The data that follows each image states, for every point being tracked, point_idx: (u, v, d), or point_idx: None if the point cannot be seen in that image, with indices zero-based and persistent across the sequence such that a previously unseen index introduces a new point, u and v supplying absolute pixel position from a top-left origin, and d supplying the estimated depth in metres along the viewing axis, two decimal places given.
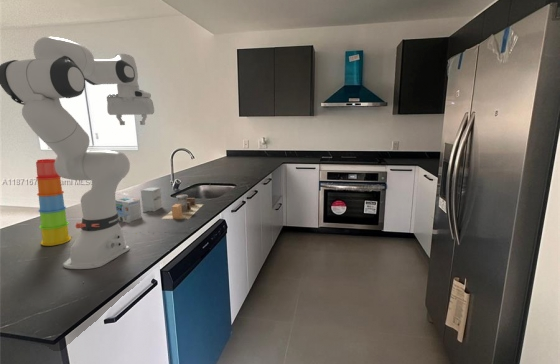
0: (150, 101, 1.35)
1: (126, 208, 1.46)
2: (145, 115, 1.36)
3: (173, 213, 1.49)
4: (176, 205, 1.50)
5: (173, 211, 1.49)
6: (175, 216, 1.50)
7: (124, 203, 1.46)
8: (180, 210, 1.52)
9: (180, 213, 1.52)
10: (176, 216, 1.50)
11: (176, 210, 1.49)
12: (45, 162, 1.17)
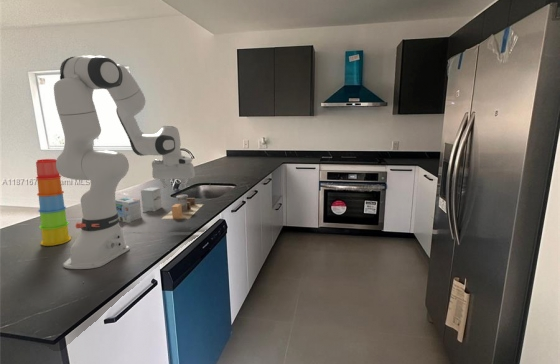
0: (192, 166, 1.46)
1: (126, 208, 1.46)
2: (187, 178, 1.48)
3: (173, 213, 1.49)
4: (176, 205, 1.50)
5: (173, 211, 1.49)
6: (175, 216, 1.50)
7: (124, 203, 1.46)
8: (180, 210, 1.52)
9: (180, 213, 1.52)
10: (176, 216, 1.50)
11: (176, 210, 1.49)
12: (45, 162, 1.17)
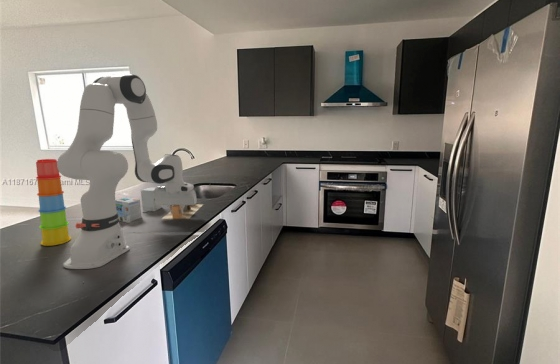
0: (194, 193, 1.49)
1: (126, 208, 1.46)
2: (184, 205, 1.51)
3: (173, 213, 1.49)
4: (176, 205, 1.50)
5: (173, 211, 1.49)
6: (175, 216, 1.50)
7: (124, 203, 1.46)
8: None
9: (180, 213, 1.52)
10: (176, 216, 1.50)
11: (176, 210, 1.49)
12: (45, 162, 1.17)
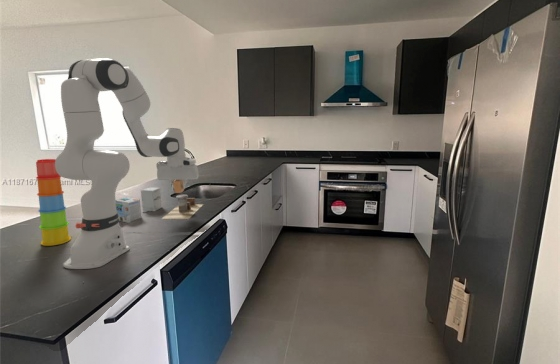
0: (196, 168, 1.49)
1: (126, 208, 1.46)
2: (186, 180, 1.51)
3: (175, 188, 1.49)
4: (178, 180, 1.50)
5: (175, 186, 1.49)
6: (177, 191, 1.49)
7: (124, 203, 1.46)
8: None
9: (182, 188, 1.52)
10: (178, 191, 1.49)
11: (178, 185, 1.49)
12: (45, 162, 1.17)
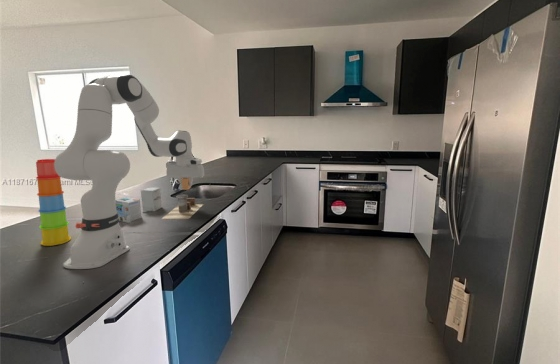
0: (202, 166, 1.63)
1: (126, 208, 1.46)
2: (193, 178, 1.65)
3: (183, 185, 1.63)
4: (185, 178, 1.64)
5: (183, 183, 1.63)
6: (185, 187, 1.64)
7: (124, 203, 1.46)
8: None
9: None
10: (186, 187, 1.64)
11: (186, 182, 1.63)
12: (45, 162, 1.17)
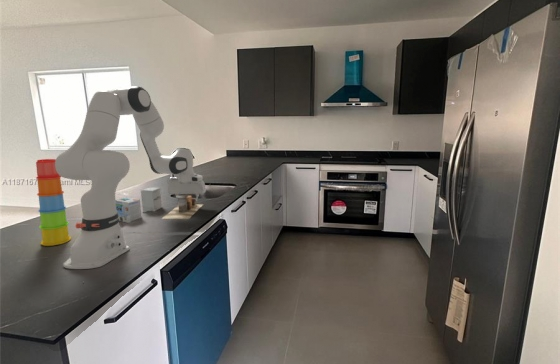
0: (203, 183, 1.65)
1: (126, 208, 1.46)
2: (198, 194, 1.66)
3: None
4: (187, 197, 1.66)
5: None
6: None
7: (124, 203, 1.46)
8: (190, 201, 1.69)
9: None
10: None
11: (187, 201, 1.65)
12: (45, 162, 1.17)
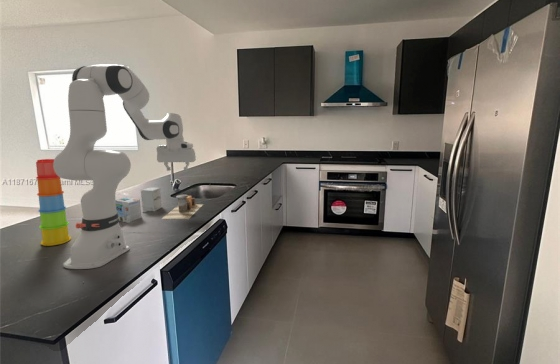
0: (193, 151, 1.60)
1: (126, 208, 1.46)
2: (188, 162, 1.61)
3: None
4: (187, 197, 1.66)
5: None
6: None
7: (124, 203, 1.46)
8: (190, 201, 1.69)
9: None
10: None
11: (187, 201, 1.65)
12: (45, 162, 1.17)
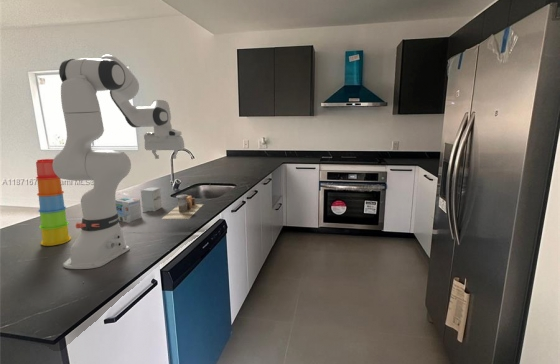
0: (181, 139, 1.57)
1: (126, 208, 1.46)
2: (177, 150, 1.59)
3: None
4: (187, 197, 1.66)
5: None
6: None
7: (124, 203, 1.46)
8: (190, 201, 1.69)
9: None
10: None
11: (187, 201, 1.65)
12: (45, 162, 1.17)
